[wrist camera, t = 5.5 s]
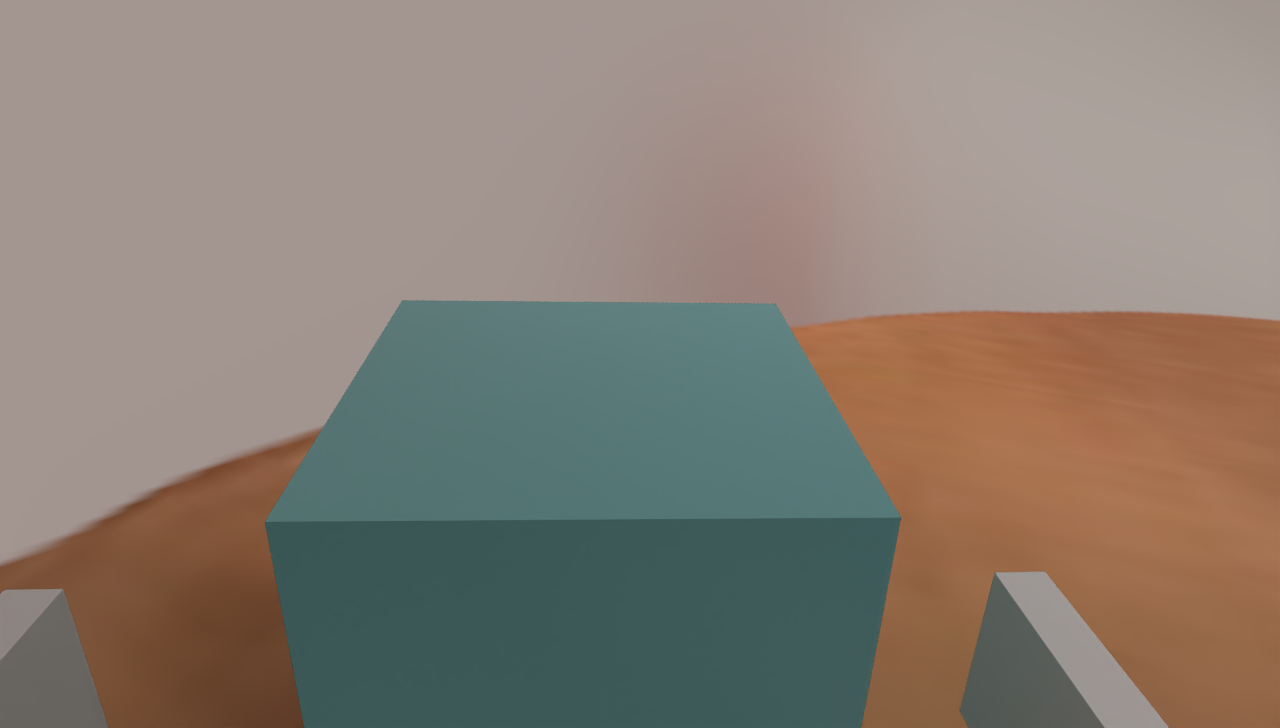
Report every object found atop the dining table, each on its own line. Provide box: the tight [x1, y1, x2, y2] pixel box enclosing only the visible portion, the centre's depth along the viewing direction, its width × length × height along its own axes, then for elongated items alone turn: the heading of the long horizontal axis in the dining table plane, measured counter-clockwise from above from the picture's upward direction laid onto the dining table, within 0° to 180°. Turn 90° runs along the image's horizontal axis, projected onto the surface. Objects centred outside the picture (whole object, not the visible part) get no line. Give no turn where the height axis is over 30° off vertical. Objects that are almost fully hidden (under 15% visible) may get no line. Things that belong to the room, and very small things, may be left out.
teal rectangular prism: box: [265, 300, 901, 728], centre depth 13 cm, size 6×6×10 cm
